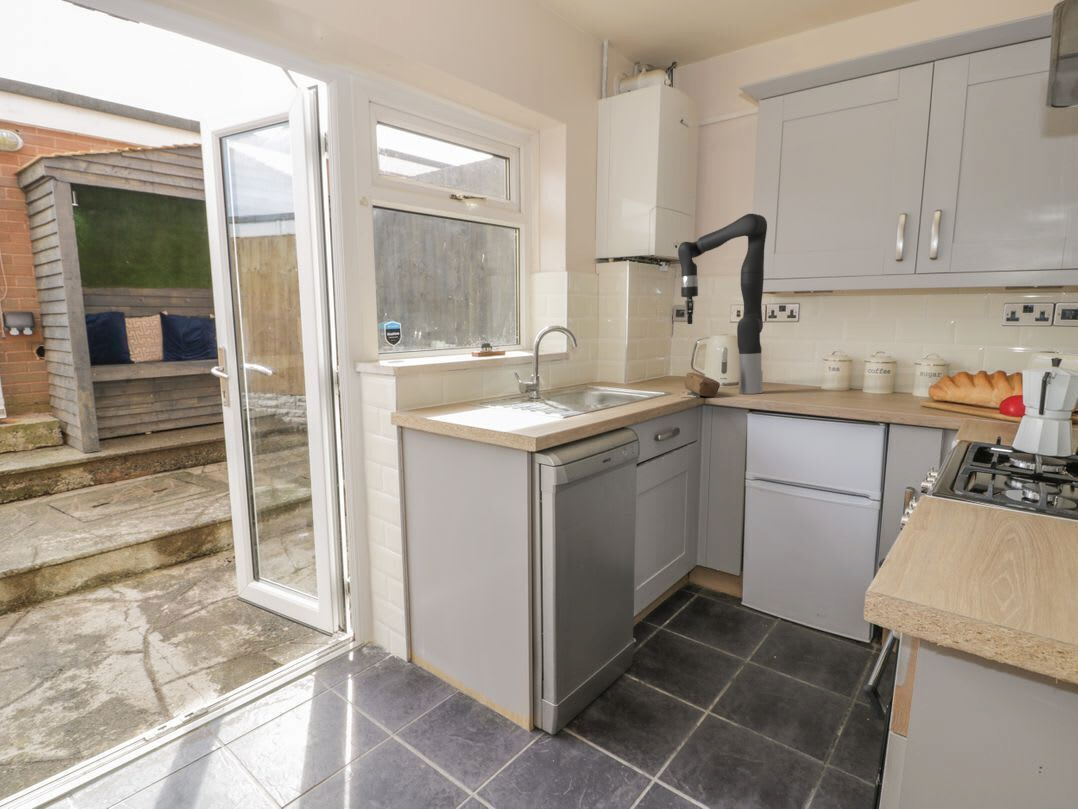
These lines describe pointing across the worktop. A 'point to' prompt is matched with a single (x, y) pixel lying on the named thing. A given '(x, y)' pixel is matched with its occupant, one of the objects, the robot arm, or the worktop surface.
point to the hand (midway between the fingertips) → (689, 324)
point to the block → (701, 384)
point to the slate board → (693, 394)
